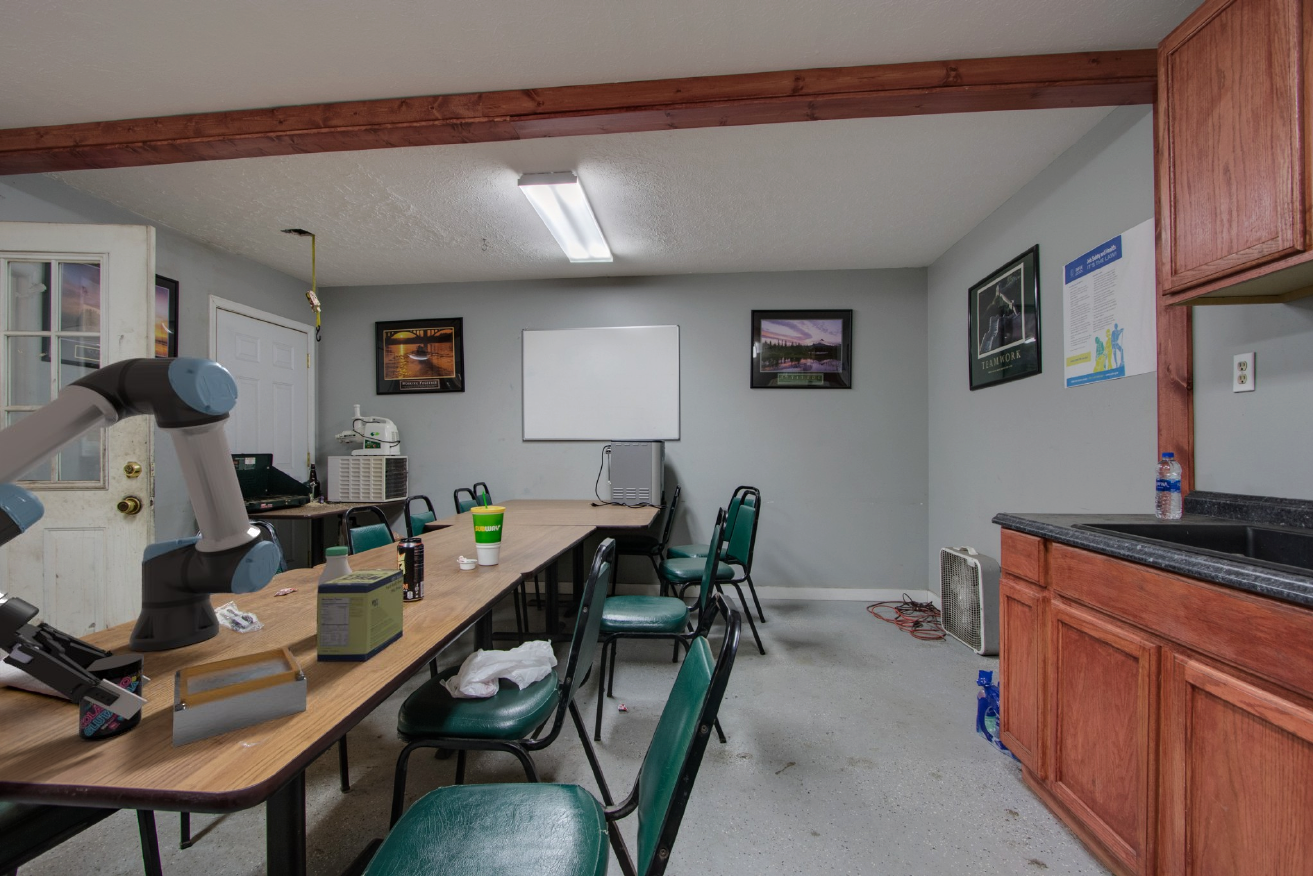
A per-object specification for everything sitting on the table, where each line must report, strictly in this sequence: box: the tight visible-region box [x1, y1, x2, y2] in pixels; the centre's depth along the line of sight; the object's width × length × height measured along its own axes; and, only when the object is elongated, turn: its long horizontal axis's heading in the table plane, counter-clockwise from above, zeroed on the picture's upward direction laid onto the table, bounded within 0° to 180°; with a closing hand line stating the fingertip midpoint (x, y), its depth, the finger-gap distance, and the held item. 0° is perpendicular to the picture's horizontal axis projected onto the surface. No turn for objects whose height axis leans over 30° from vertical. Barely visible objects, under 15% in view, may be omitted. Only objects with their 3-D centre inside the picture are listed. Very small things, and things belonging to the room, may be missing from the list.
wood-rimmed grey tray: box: [172, 646, 308, 748], centre depth 86 cm, size 18×16×6 cm
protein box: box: [316, 568, 404, 662], centre depth 113 cm, size 10×16×16 cm
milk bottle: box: [316, 546, 353, 629], centre depth 123 cm, size 8×8×20 cm
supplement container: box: [77, 653, 145, 742], centre depth 79 cm, size 7×7×10 cm
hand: (140, 698), depth 81 cm, fingers open, 10 cm apart
